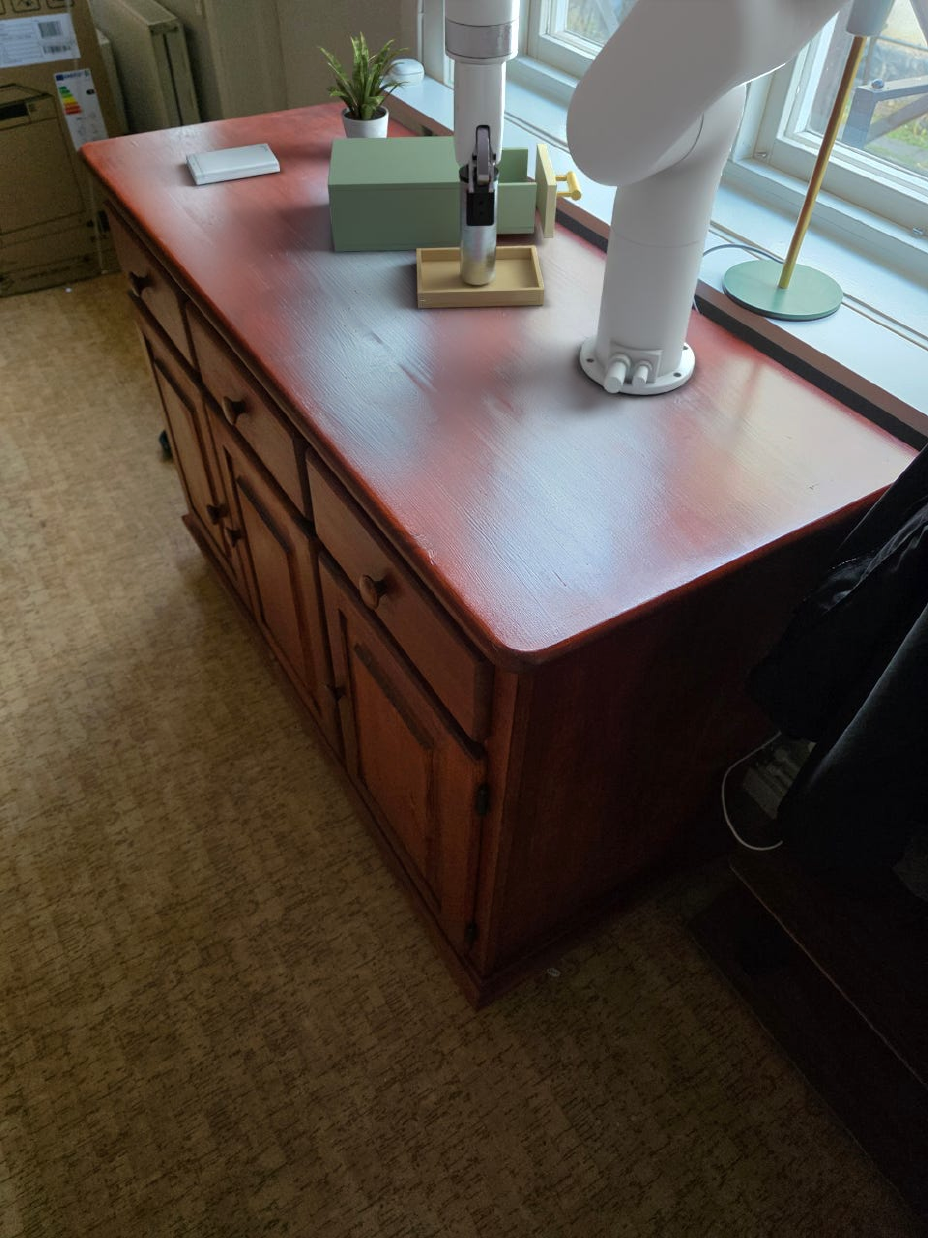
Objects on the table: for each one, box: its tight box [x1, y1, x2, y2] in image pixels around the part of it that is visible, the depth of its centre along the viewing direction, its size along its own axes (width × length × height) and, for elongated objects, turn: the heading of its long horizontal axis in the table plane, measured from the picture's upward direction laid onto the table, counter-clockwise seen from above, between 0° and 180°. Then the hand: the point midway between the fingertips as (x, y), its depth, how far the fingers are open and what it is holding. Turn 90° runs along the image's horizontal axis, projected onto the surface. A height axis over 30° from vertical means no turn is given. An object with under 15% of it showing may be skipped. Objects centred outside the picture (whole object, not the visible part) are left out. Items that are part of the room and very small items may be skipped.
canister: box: [459, 164, 499, 285], centre depth 106 cm, size 5×5×13 cm
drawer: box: [459, 142, 583, 239], centre depth 119 cm, size 19×13×7 cm
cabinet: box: [327, 135, 460, 253], centre depth 118 cm, size 17×15×9 cm
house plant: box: [314, 31, 413, 138], centre depth 130 cm, size 14×14×16 cm
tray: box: [415, 245, 546, 309], centre depth 110 cm, size 15×11×2 cm
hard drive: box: [185, 142, 281, 186], centre depth 133 cm, size 2×8×12 cm
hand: (478, 212), depth 104 cm, fingers closed on canister, 4 cm apart
